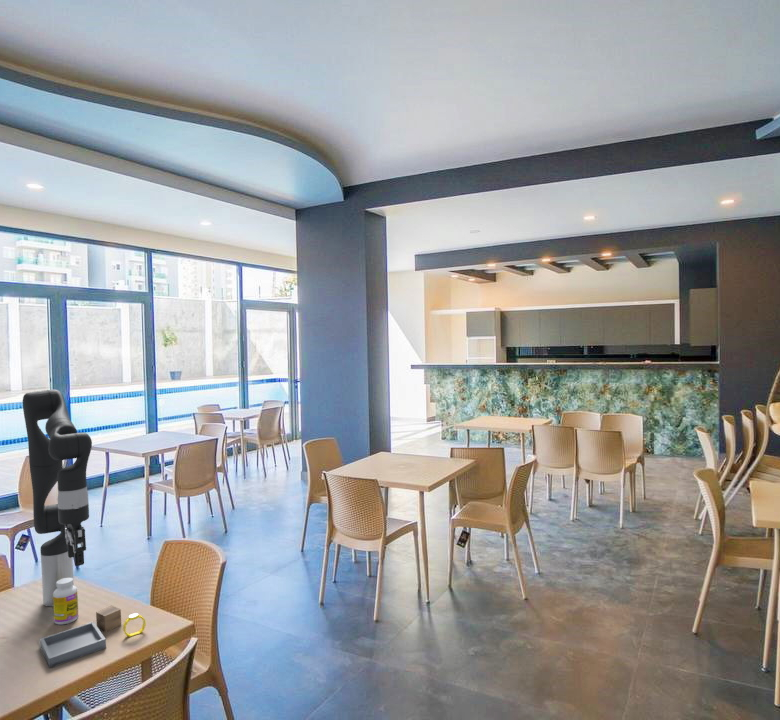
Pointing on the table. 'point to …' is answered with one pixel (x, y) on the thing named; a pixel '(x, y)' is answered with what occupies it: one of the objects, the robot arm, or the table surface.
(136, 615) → the watch
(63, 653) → the slate tray
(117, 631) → the table surface
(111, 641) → the table surface
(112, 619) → the walnut block
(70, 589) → the supplement bottle
